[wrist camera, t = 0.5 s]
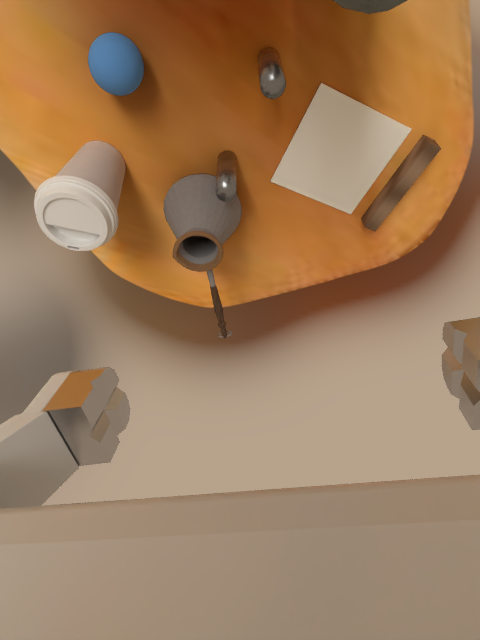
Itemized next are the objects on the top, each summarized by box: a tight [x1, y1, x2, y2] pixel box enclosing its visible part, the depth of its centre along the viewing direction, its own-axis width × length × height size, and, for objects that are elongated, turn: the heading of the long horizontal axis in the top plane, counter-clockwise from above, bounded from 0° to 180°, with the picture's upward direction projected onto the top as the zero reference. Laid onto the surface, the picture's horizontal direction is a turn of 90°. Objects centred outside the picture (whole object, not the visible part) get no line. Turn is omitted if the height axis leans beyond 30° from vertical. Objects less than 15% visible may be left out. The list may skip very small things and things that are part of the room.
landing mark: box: [270, 83, 412, 214], centre depth 56 cm, size 14×14×1 cm
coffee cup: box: [34, 141, 126, 251], centre depth 51 cm, size 10×10×15 cm
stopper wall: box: [361, 135, 441, 231], centre depth 58 cm, size 14×2×2 cm, turn 157°
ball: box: [88, 32, 144, 96], centre depth 45 cm, size 6×6×6 cm
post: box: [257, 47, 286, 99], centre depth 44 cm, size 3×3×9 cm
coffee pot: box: [164, 173, 242, 338], centre depth 59 cm, size 21×12×15 cm, turn 12°
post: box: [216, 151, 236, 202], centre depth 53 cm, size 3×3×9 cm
